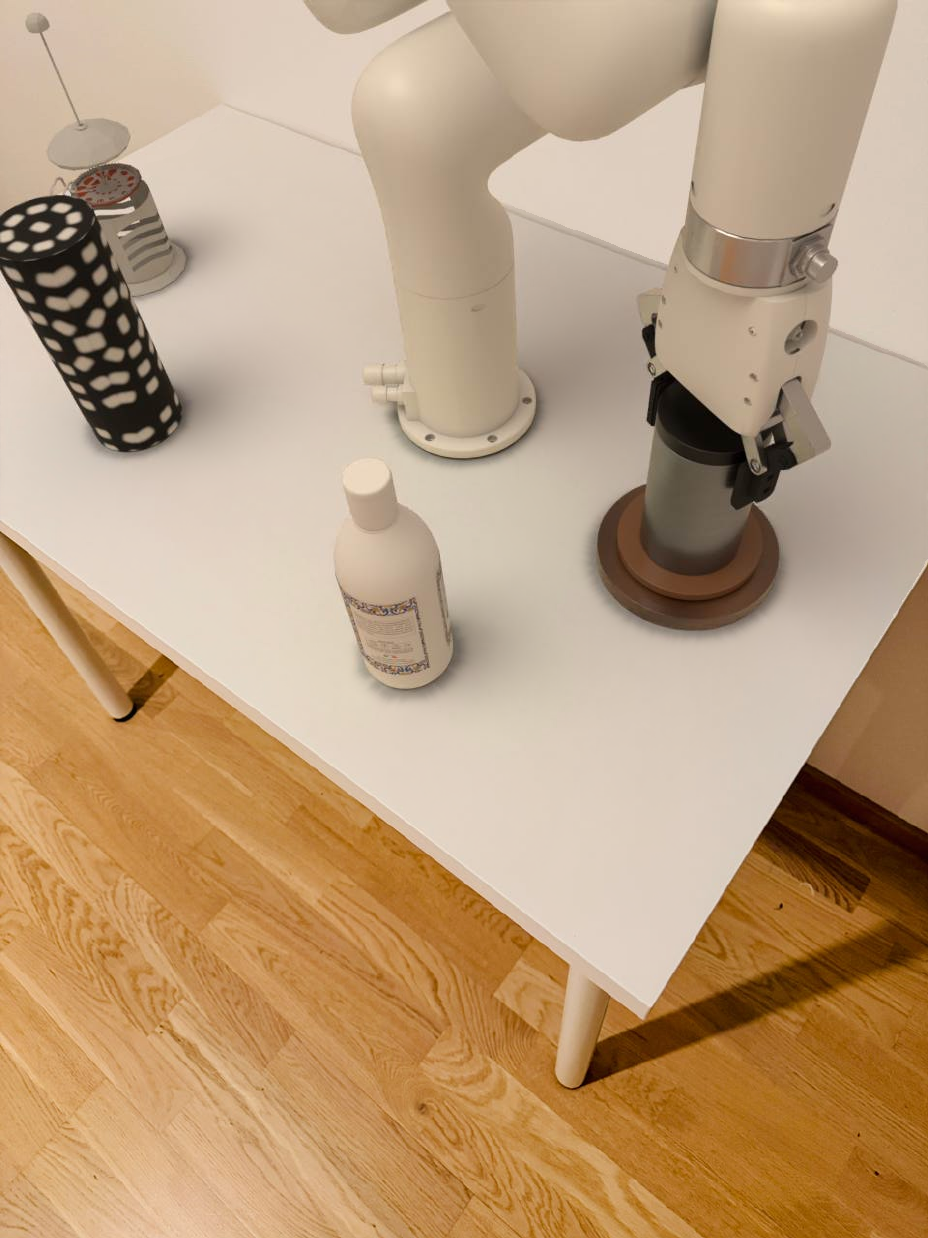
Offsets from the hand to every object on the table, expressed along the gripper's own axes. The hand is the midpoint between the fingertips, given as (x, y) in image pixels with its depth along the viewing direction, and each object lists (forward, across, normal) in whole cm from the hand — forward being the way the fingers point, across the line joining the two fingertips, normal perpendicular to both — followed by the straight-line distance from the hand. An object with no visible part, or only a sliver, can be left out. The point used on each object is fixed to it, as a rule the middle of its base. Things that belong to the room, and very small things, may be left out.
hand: (707, 455), depth 62 cm
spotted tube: (+12, +40, +33) cm, 53 cm away
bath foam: (+12, +4, +23) cm, 26 cm away
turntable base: (+12, 0, 0) cm, 12 cm away
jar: (+10, 0, 0) cm, 10 cm away
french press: (+12, +62, +26) cm, 68 cm away
